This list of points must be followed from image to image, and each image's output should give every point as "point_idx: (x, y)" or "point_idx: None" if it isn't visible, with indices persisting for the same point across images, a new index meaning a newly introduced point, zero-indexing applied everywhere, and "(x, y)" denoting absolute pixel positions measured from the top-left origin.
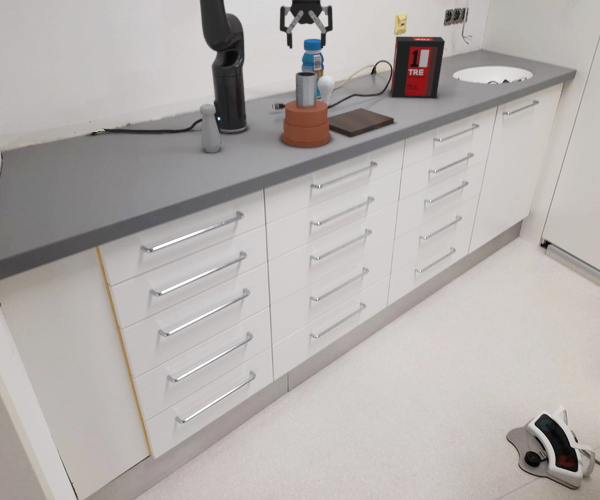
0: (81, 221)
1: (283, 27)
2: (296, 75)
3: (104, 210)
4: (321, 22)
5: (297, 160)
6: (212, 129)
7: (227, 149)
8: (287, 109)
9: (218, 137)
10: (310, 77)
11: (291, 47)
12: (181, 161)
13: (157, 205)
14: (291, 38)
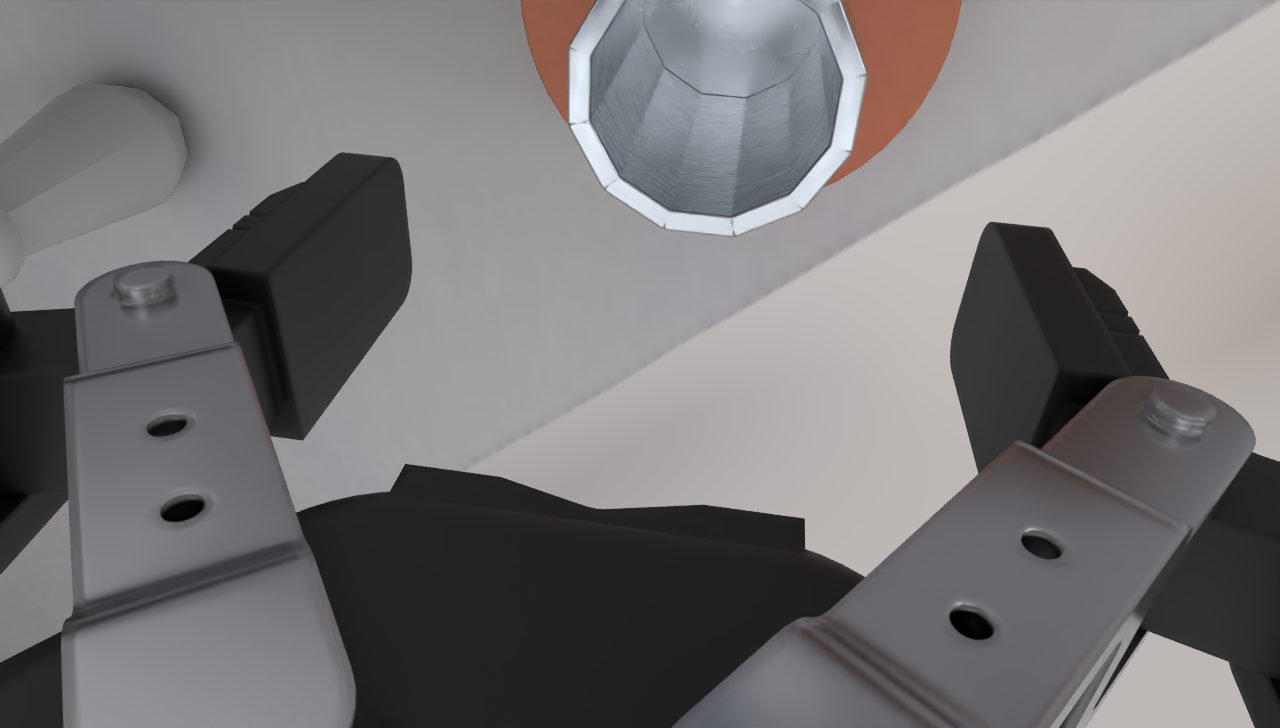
0: (35, 644)
1: (28, 526)
2: (580, 143)
3: (52, 605)
4: (1158, 592)
5: (667, 320)
6: (86, 228)
7: (232, 129)
8: (553, 100)
9: (148, 193)
10: (756, 223)
11: (396, 299)
12: (66, 275)
13: None
14: (333, 384)
